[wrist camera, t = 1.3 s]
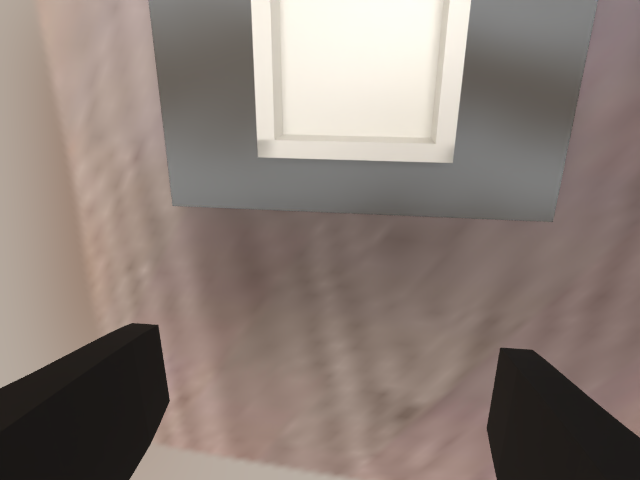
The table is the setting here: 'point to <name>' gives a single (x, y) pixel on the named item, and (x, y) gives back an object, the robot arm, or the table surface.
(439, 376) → the table surface
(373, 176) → the overhang board
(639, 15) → the table surface
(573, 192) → the table surface
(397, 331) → the table surface
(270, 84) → the tray shell
